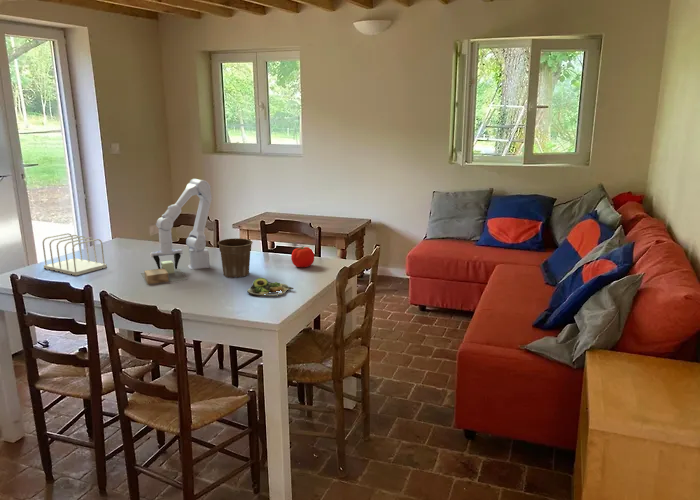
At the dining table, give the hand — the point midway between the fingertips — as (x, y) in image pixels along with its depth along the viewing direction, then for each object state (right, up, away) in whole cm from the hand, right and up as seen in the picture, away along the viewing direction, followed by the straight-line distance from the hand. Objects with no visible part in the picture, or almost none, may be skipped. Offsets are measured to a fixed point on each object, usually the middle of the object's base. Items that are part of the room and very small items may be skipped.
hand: (167, 269), depth 268 cm
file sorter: (-48, 0, +8) cm, 49 cm away
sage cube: (0, -1, 0) cm, 1 cm away
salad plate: (+52, -9, -24) cm, 58 cm away
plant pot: (+34, -2, -1) cm, 34 cm away
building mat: (0, -3, -6) cm, 7 cm away
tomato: (+64, +1, +14) cm, 66 cm away
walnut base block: (-1, -4, -12) cm, 13 cm away
